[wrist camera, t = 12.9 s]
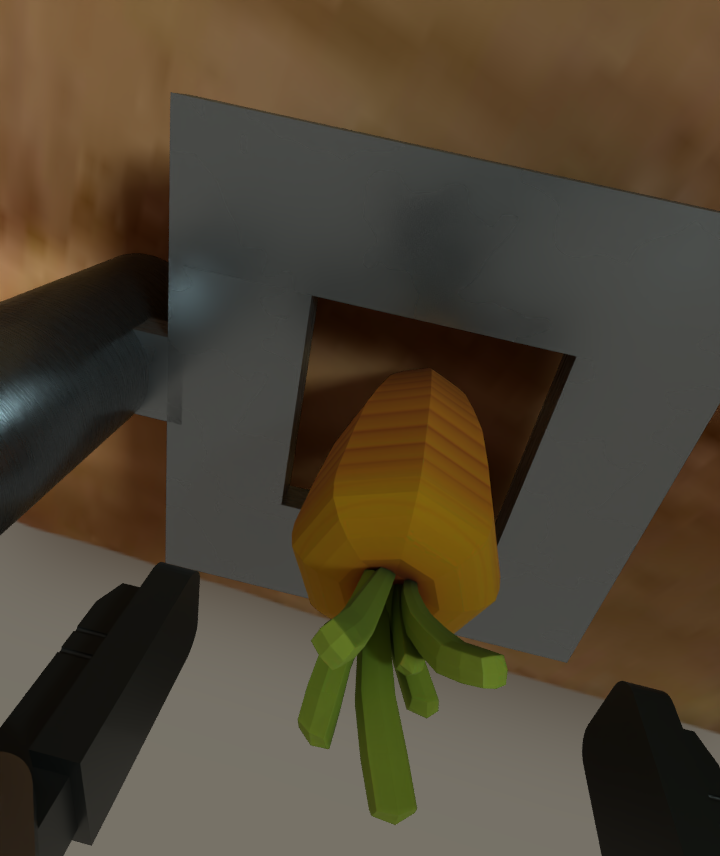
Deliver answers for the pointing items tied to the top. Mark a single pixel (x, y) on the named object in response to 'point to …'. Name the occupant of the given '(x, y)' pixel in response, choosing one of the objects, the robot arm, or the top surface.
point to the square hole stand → (392, 293)
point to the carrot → (398, 570)
